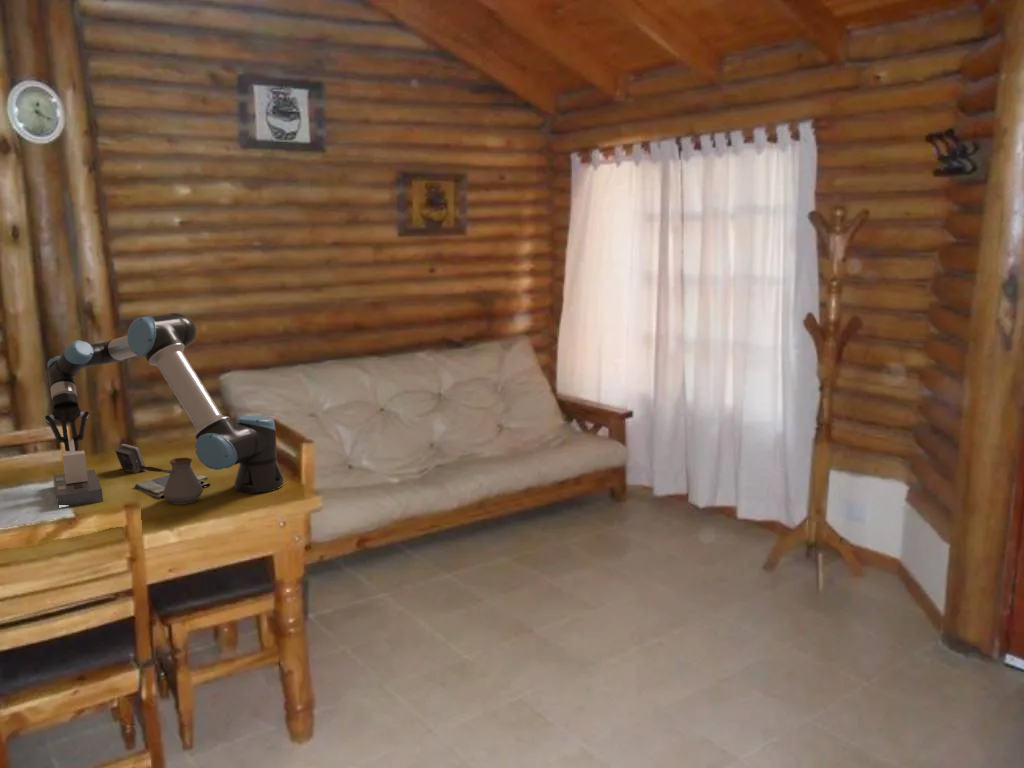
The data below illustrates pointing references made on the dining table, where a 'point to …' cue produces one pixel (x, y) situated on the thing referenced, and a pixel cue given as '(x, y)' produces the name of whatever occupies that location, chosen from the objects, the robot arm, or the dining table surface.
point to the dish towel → (162, 485)
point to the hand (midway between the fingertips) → (73, 458)
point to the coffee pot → (179, 482)
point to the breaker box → (78, 490)
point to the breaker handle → (75, 467)
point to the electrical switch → (130, 458)
